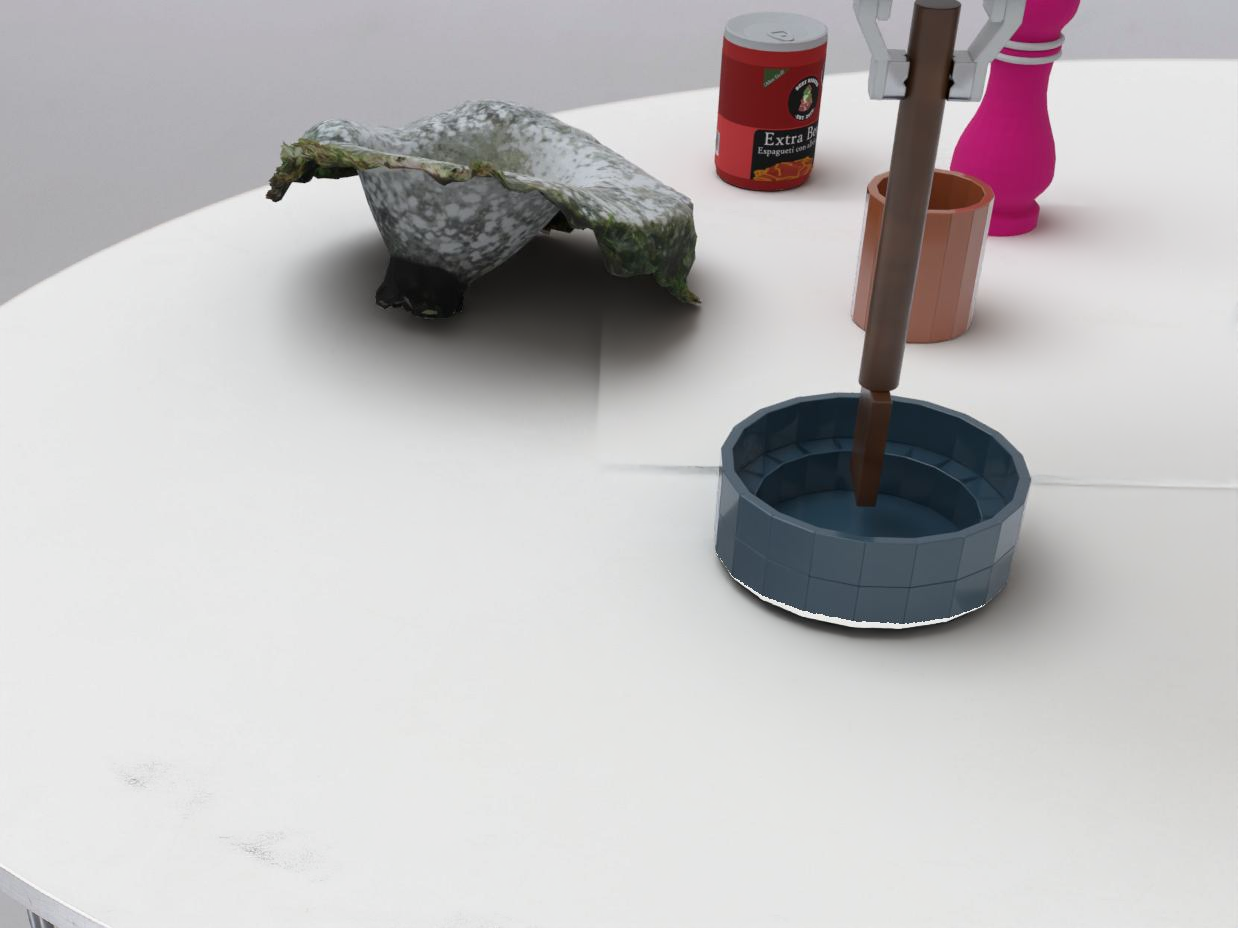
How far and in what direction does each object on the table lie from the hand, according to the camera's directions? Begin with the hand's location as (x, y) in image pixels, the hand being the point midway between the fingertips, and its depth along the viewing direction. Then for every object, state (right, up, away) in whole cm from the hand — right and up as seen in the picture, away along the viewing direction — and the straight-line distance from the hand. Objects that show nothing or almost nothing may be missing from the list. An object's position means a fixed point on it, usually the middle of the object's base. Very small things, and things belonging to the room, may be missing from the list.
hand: (923, 97), depth 74 cm
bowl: (0, -19, +13) cm, 23 cm away
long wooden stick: (0, -16, +13) cm, 20 cm away
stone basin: (-20, +1, +38) cm, 43 cm away
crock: (+8, -2, +34) cm, 35 cm away
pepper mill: (+17, +9, +47) cm, 50 cm away
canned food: (+2, +16, +55) cm, 58 cm away
